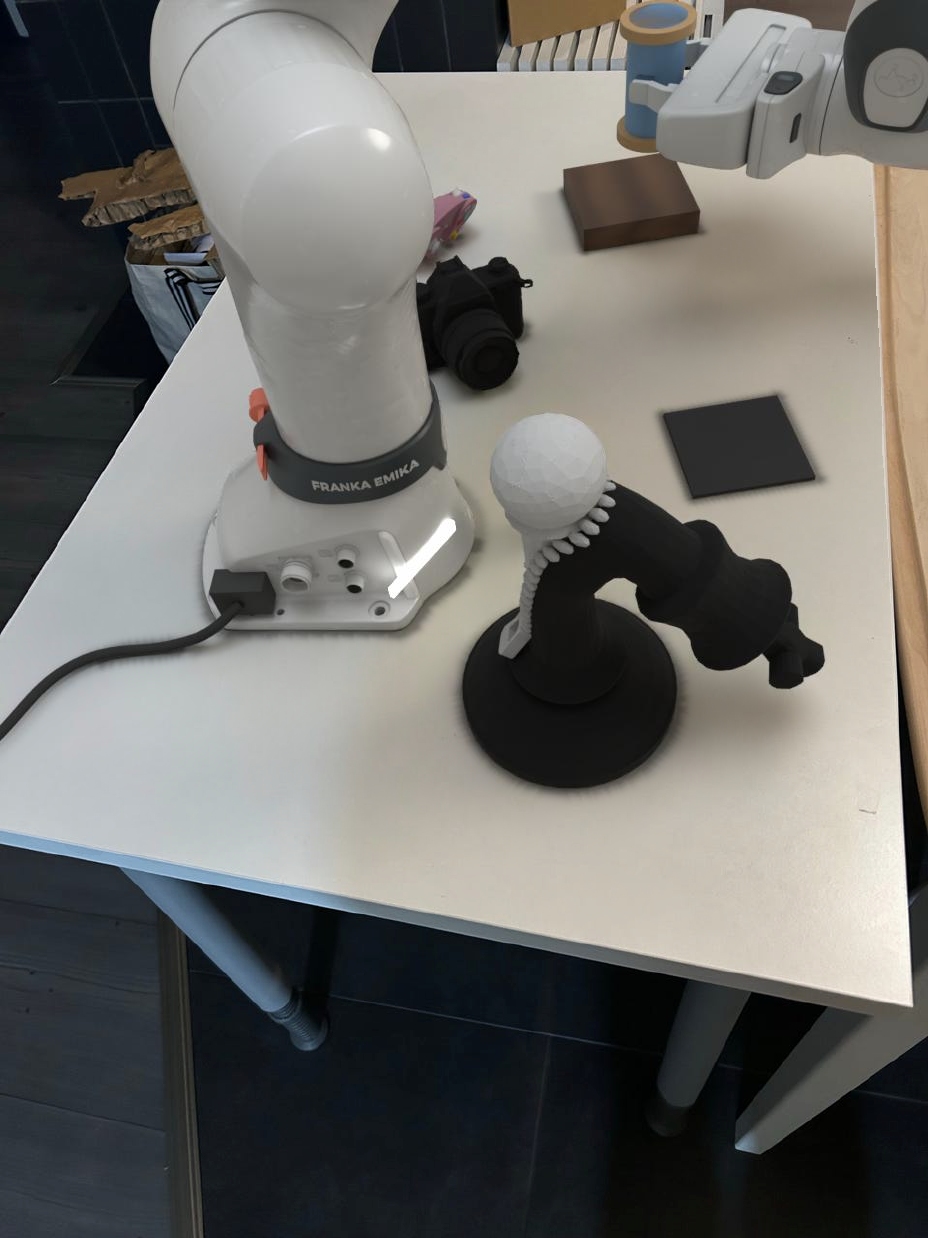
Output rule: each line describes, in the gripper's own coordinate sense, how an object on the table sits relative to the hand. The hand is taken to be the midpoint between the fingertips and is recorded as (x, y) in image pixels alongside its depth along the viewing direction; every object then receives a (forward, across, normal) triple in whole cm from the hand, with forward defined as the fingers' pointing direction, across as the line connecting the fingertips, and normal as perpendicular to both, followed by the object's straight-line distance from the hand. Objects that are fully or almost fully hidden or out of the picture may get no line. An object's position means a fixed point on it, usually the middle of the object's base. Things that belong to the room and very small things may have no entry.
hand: (645, 71), depth 81 cm
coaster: (-19, +24, +17) cm, 35 cm away
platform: (+3, -6, +17) cm, 19 cm away
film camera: (+8, +22, +18) cm, 30 cm away
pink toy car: (+20, +7, +18) cm, 28 cm away
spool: (-1, 0, +6) cm, 6 cm away
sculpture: (-20, +50, +18) cm, 56 cm away
